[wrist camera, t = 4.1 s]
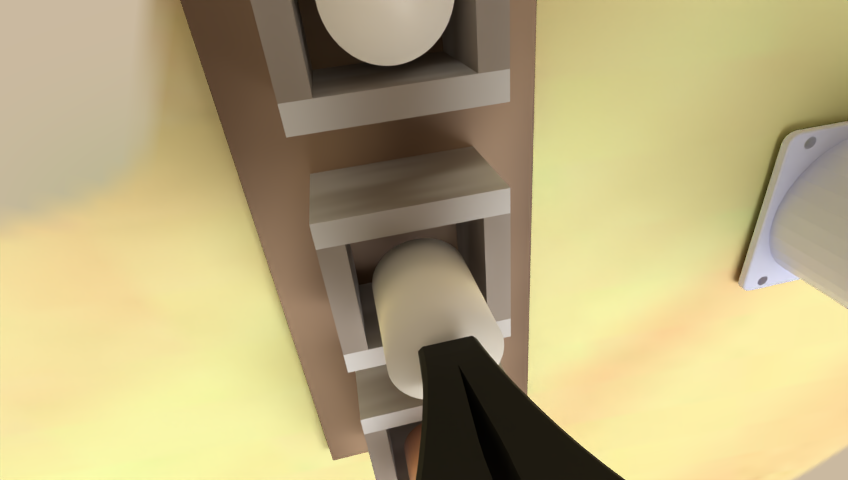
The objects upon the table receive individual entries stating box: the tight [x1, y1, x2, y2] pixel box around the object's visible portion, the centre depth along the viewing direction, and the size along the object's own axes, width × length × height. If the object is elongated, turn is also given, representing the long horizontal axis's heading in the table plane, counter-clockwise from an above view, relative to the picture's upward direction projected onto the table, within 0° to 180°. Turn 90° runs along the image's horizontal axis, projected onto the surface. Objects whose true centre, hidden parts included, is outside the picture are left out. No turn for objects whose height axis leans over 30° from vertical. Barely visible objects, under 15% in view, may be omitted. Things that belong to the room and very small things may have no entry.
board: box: [180, 0, 537, 480], centre depth 16 cm, size 10×24×4 cm, turn 6°
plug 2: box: [372, 238, 504, 399], centre depth 13 cm, size 3×3×3 cm
